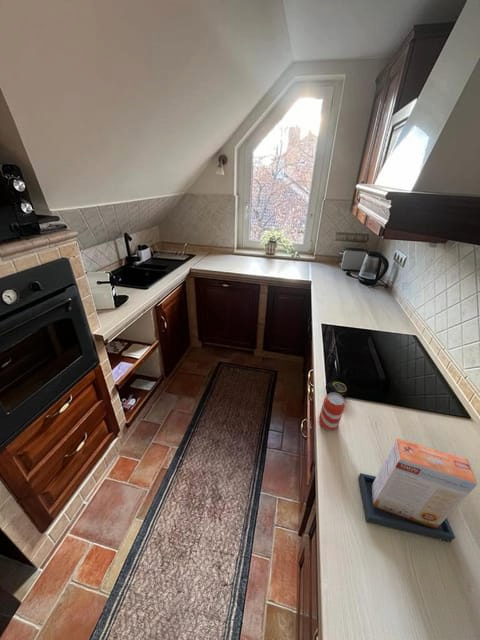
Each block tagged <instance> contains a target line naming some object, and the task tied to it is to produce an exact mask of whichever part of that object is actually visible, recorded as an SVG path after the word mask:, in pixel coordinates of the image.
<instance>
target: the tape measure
mask: <svg viewBox="0 0 480 640" xmlns="http://www.w3.org/2000/svg"><path fill="white" fill-rule="evenodd" d="M325 390H326V391H327V392H328V394H329V393H337V394H340V395H341V396H342V397H343V398H344V399H345V397H346V396H348V387H347V386H346V384H345V383H343V382H342V381H338V380H333V381H331V382H329V383H327V384H326V385H325Z"/></svg>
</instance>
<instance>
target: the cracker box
mask: <svg viewBox="0 0 480 640" xmlns="http://www.w3.org/2000/svg"><path fill="white" fill-rule="evenodd" d="M477 485H478V481H477V479H476V476H475V473H474V471H473V469H472V467H471V464H470V462H469V460H468V458H466V457H465V458H464V457H461V456H458V455H454V454H452V453H448V452H445V451H441V450H437V449H435V448H431V447H427V446H424V445H420V444H418V443H414V442H412V441H411V442H410V441H407V440H403V439H400V438H395V440H394V442H393V444H392V446H391V448H390V449H389V452H388V454H386V457H385V459H384V461H383V463H382V465H381V467H380V469H379V471H378V473H377V475H376V478H375V480H374V482H373V484H372V499H373V507H375V508H377V509H380V510H383V511H385V512H388V513H391V514H393V515H396V516H399V517H402V518H404V519H407V520H410V521H412V522H415V523H418V524H420V525H423V526H426V527H428V528H431V529H435V530H436V529H437V528H438V527H439V526H440V524H441V523H442V522H443V521H444V520H445V519H446V518H447V519H448V517H449V516H450V515H451V514H452V513H453V512H454V510H455V509H457V507H459V505H460V504H461V503H462V502H463V501H464V500H465V498H466V497H467V496H468V495H469V494H470V493H471V492H472V491H473V490H474V489H475V487H477Z"/></svg>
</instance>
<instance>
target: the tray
mask: <svg viewBox="0 0 480 640" xmlns="http://www.w3.org/2000/svg"><path fill="white" fill-rule="evenodd" d="M376 476H377V475H376ZM376 476H375V475H371V474H367V473H361V472H360V473H359V475H358V477H357V481H358V486H359V491H360V496H361V502H362V507H363V512H364V513H363V514H364V517H365V518H364V519H365V522H366V523H369V524H374V525H376V526H377V525H378V526H382V527H385V528H389V529H394V530H397V531H402V532H405V533H410V534H415V535H419V536H423V537H427V538H430V537H431V538H430V539H435V538H436V539H435V540H439V539H441V540H440V541H443V540H445V541H444V542H447V541H449V542H448V543H452V541H454V540H455V539H456V536H455V534H454V531H453V529H452V527H451V524H450V522H449V520H448V517H447V518H446V519H445V520H444V521H443V522H442V523H441V524H440V526H439V527H438V528H437V529H436V530H435V529H431V528H428V527H426V526H423V525H420V524H418V523H415V522H412V521H410V520H407V519H404V518H402V517H399V516H396V515H393V514H391V513H388V512H385V511H383V510H380V509H377V508H375V507H373V499H372V484H373V482H374V480H375V478H376Z"/></svg>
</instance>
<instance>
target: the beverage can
mask: <svg viewBox="0 0 480 640" xmlns="http://www.w3.org/2000/svg"><path fill="white" fill-rule="evenodd" d="M345 407H346V405H345V397H344V398H343V397H342V396H341V395H340V394H337V393H329V392H328V394H327V395H326V396H325V397H324V399H323V402H322V406H321V409H320V413H319V417H318V423H319V424H320V425H321V427H322V428H324V429H326V430H328V431H333V430H336V429H337V428H338V427H339V425H340V422H341V419H342V417H343V413H344V411H345Z"/></svg>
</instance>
